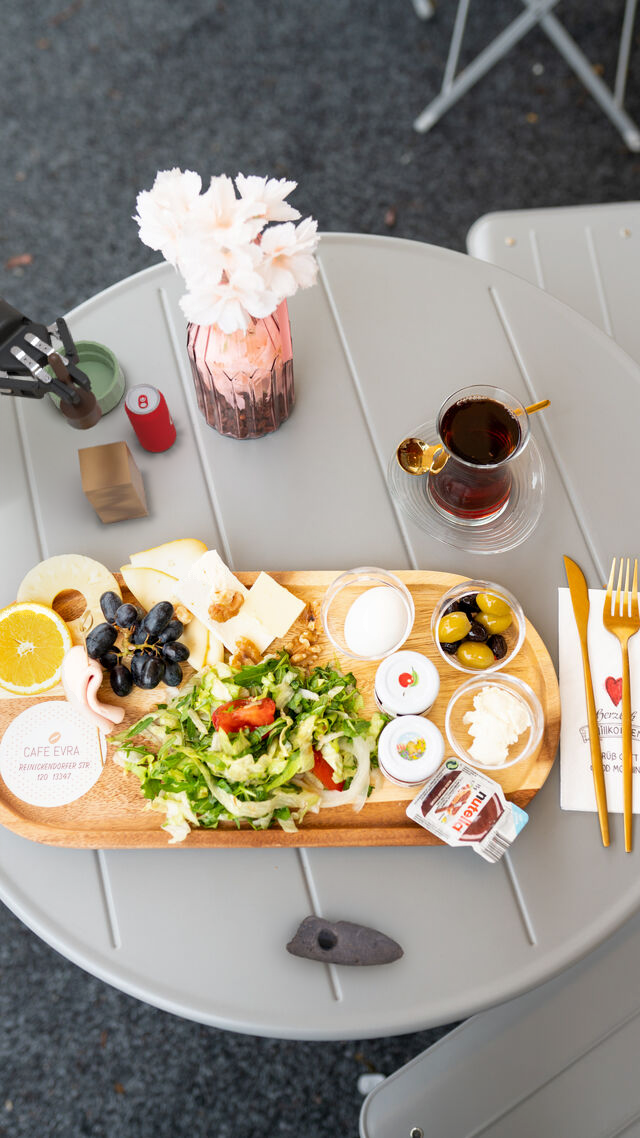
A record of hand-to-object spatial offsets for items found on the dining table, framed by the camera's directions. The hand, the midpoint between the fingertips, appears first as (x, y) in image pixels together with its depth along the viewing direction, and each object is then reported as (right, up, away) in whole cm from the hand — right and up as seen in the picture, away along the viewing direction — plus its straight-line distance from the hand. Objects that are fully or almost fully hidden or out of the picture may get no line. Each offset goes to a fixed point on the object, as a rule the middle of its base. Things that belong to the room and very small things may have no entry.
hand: (82, 393), depth 106 cm
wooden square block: (-1, -12, +24) cm, 27 cm away
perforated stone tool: (+34, -72, +3) cm, 80 cm away
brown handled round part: (-2, -1, +9) cm, 9 cm away
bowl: (-8, +7, +31) cm, 33 cm away
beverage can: (+4, -1, +28) cm, 29 cm away
